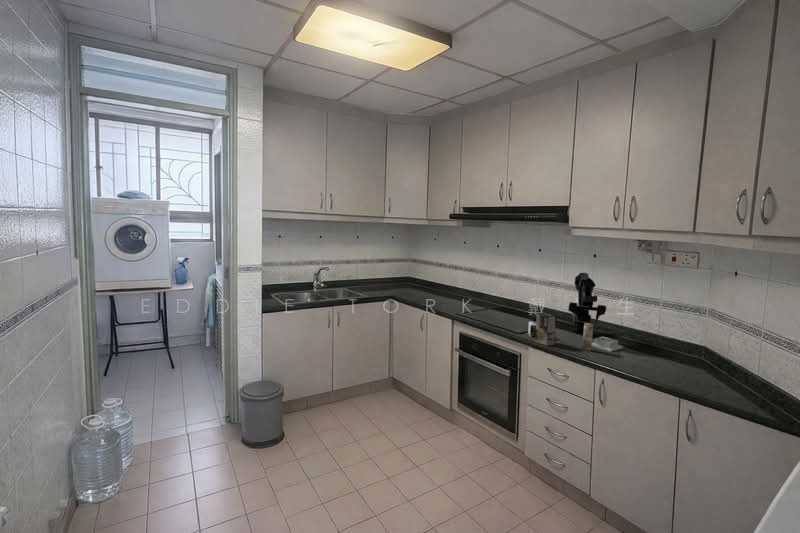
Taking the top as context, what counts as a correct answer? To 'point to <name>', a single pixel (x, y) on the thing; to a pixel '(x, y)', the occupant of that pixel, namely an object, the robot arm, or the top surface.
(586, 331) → the birch peg
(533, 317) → the medicine bottle
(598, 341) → the socket collar
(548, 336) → the coffee box
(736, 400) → the top surface
